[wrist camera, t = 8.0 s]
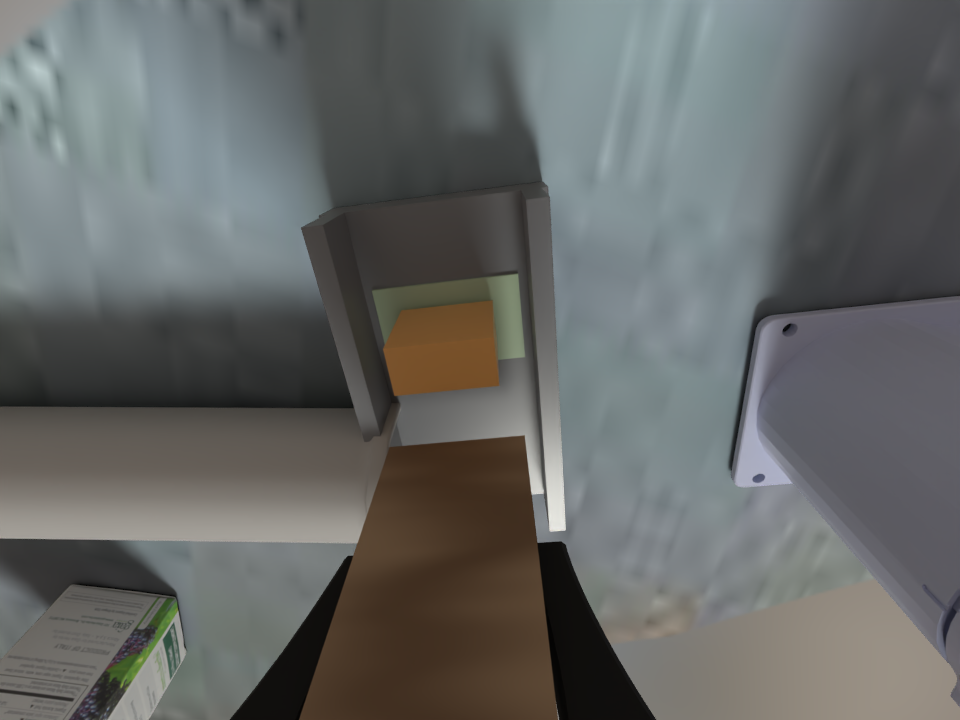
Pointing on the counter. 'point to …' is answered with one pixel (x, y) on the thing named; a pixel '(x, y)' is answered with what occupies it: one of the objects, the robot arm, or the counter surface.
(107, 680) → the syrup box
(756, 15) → the counter surface
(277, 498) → the tube
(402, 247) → the grey open tray
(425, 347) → the switch knob
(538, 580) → the walnut peg
